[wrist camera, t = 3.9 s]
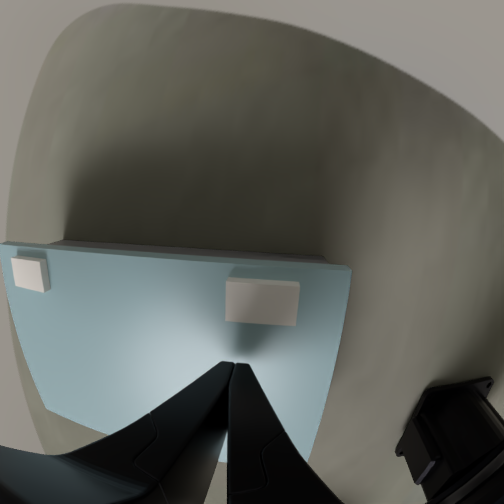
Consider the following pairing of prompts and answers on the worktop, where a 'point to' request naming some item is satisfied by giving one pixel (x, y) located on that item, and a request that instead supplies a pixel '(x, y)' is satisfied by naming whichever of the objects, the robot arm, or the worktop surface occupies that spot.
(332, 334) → the cover
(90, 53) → the worktop surface
